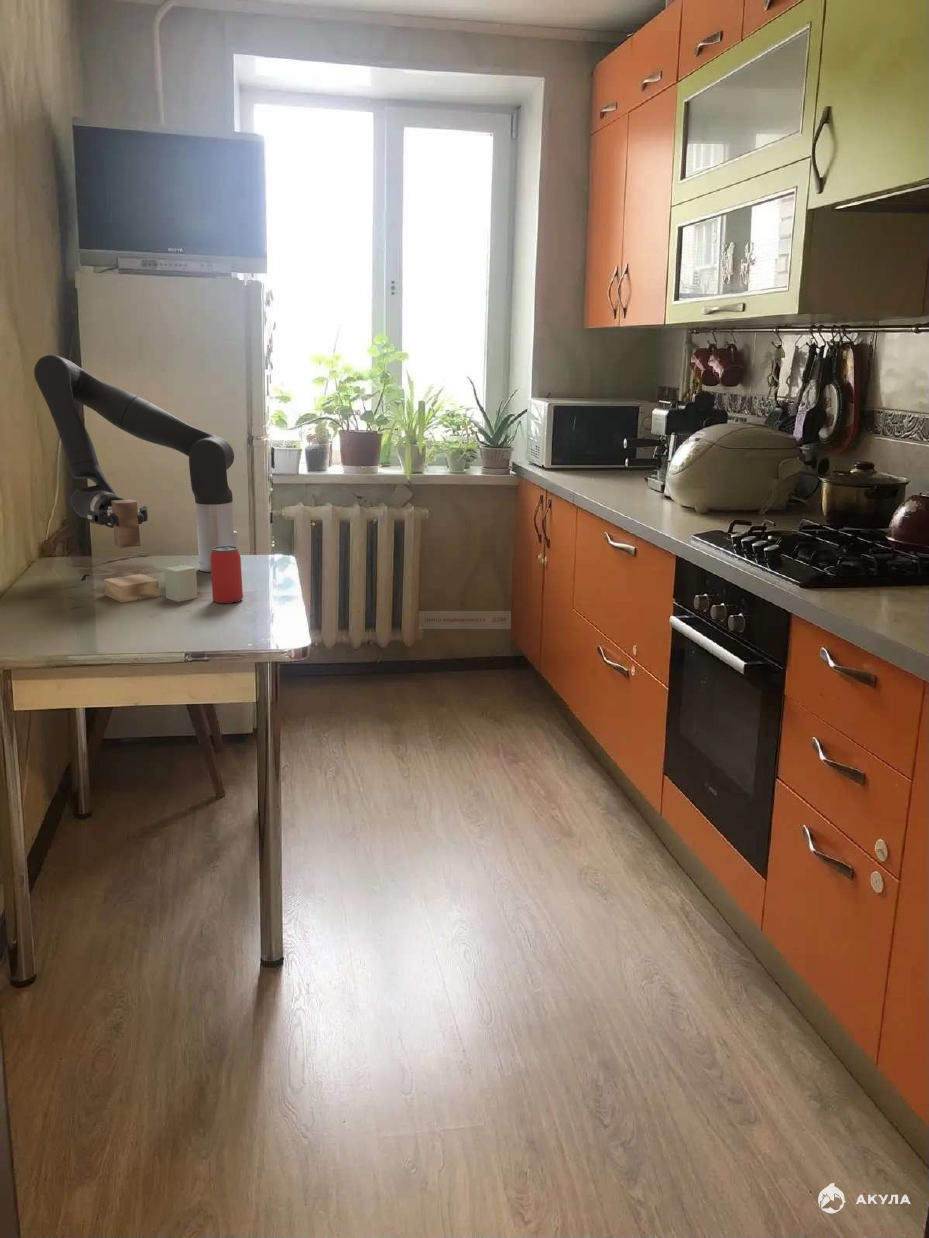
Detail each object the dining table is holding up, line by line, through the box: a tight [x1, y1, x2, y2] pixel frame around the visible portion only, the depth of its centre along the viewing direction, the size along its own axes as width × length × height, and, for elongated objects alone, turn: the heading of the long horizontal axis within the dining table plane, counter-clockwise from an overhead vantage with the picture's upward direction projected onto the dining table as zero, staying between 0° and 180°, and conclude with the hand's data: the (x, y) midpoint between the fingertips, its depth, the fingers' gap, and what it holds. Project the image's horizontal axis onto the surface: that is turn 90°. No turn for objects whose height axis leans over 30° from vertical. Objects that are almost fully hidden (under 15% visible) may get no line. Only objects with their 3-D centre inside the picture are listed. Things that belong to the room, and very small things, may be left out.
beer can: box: [210, 546, 244, 604], centre depth 224 cm, size 7×7×12 cm
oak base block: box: [103, 573, 160, 603], centre depth 229 cm, size 9×9×4 cm
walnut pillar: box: [111, 498, 141, 549], centre depth 225 cm, size 4×4×10 cm
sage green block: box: [163, 564, 198, 603], centre depth 227 cm, size 5×5×7 cm
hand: (128, 520), depth 223 cm, fingers closed on walnut pillar, 4 cm apart
